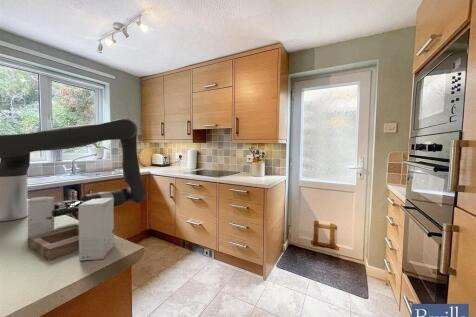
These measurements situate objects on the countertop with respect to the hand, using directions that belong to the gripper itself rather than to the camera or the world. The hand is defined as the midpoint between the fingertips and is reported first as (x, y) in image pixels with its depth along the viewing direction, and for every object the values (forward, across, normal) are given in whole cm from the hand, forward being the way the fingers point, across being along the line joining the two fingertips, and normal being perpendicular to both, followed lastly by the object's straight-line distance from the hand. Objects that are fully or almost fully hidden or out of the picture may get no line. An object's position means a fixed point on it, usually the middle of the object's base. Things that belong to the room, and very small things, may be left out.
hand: (47, 211), depth 70 cm
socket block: (+2, +16, +7) cm, 18 cm away
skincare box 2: (-1, +29, +7) cm, 30 cm away
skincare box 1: (+1, 0, +7) cm, 7 cm away
